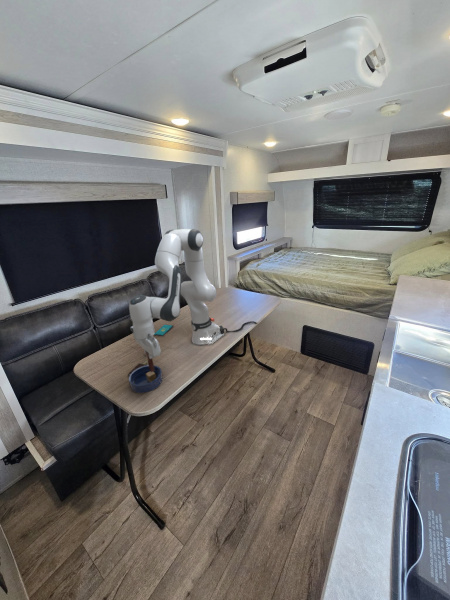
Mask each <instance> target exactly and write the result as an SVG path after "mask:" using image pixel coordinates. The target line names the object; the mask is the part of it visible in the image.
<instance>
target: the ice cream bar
mask: <svg viewBox="0 0 450 600" xmlns="http://www.w3.org/2000/svg"><path fill="white" fill-rule="evenodd" d="M147 364H148V360H147V359H146V360H145V361H143V363H138V364H136V365H135V366H134V367H133V368H132V369H131V370H130V371H129V372H128V373H127V376H130V375H131V373H132V372H133V371H135V370H136V369H138V368H140V367H143V366H146V365H147Z"/></svg>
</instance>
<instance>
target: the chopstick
mask: <svg viewBox="0 0 450 600" xmlns="http://www.w3.org/2000/svg"><path fill="white" fill-rule="evenodd" d="M146 355H147V356H146ZM146 355H145V356H146V360H148V362H147V365H149V370H150V372H153V371H155V370H154V365H155V364H154V360H153V359H154V358H152V359H150V358H149V357H148V355H149V353H148V352H147V351H146Z"/></svg>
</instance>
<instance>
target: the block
mask: <svg viewBox="0 0 450 600" xmlns="http://www.w3.org/2000/svg"><path fill="white" fill-rule="evenodd" d="M146 378H147V380H148V381H149V382H152V381H154V380H155V379H156V375H155V373H154V372H148V373H146Z"/></svg>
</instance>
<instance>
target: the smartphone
mask: <svg viewBox="0 0 450 600" xmlns="http://www.w3.org/2000/svg"><path fill="white" fill-rule="evenodd" d="M173 326H174V325H171V324H163V325H162V326H161V327H160V328H159V329H158V330H157V331H155V334H154V335H153V336H160V337H163V336H165V335H166V333H168V332H169V331H170V330H171V329H172V328H173Z"/></svg>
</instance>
